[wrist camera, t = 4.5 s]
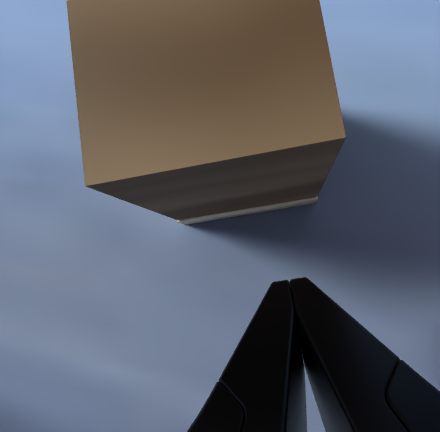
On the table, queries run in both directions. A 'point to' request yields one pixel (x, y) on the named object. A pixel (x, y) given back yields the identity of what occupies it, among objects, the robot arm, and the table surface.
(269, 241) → the table surface
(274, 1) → the brown rectangular block
